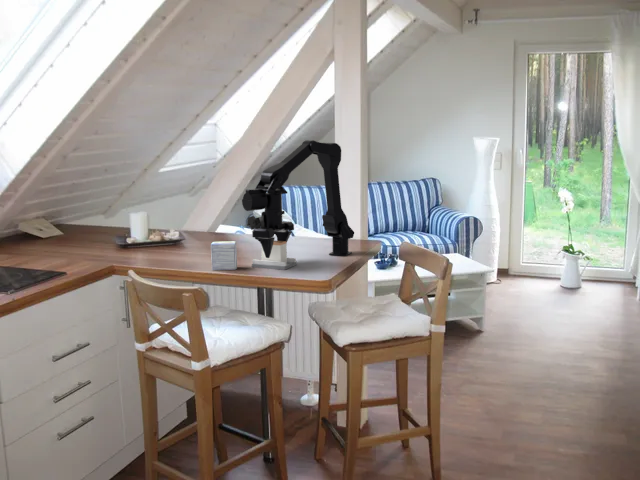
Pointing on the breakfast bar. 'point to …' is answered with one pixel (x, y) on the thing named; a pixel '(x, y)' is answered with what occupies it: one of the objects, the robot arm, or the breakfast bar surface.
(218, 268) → the medicine box
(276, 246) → the block
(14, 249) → the breakfast bar surface
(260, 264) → the rail cradle
